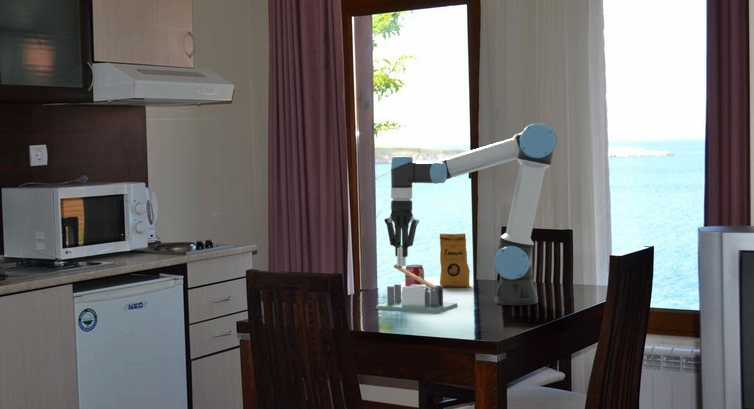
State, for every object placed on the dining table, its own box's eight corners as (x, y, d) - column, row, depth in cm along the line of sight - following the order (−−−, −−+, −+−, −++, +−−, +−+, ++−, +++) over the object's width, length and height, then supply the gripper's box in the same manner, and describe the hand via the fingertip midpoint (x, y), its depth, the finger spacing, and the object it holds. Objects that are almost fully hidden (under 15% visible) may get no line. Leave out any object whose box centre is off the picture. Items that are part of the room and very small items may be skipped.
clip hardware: (444, 308, 326) (443, 285, 326) (436, 310, 321) (435, 287, 320) (396, 304, 336) (396, 282, 336) (387, 307, 330) (387, 285, 330)
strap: (435, 288, 325) (437, 285, 325) (433, 289, 323) (434, 286, 323) (396, 266, 333) (397, 263, 332) (393, 267, 331) (394, 264, 331)
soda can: (423, 301, 342) (422, 266, 342) (404, 301, 344) (403, 266, 343) (426, 298, 349) (425, 264, 349) (407, 298, 351) (406, 264, 350)
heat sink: (436, 303, 329) (436, 285, 329) (424, 307, 322) (424, 288, 321) (413, 302, 334) (413, 284, 334) (402, 305, 326) (401, 287, 326)
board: (457, 306, 329) (457, 303, 329) (437, 313, 315) (437, 309, 315) (397, 302, 341) (397, 299, 341) (376, 309, 327) (376, 305, 327)
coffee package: (468, 288, 375) (467, 234, 374) (437, 288, 378) (436, 234, 377) (471, 285, 385) (470, 232, 384) (441, 284, 388) (440, 232, 387)
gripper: (423, 199, 329) (423, 266, 330) (390, 198, 336) (390, 263, 337) (413, 200, 322) (413, 268, 324) (379, 199, 329) (379, 265, 331)
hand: (401, 265), depth 330 cm, fingers closed
